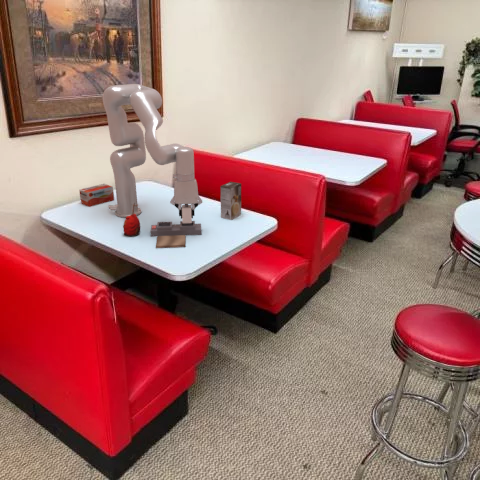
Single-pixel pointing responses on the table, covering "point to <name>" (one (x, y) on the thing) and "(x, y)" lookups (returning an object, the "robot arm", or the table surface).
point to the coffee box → (230, 200)
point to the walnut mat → (171, 241)
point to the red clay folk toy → (131, 224)
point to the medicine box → (96, 195)
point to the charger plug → (186, 214)
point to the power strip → (175, 229)
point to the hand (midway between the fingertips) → (186, 217)
